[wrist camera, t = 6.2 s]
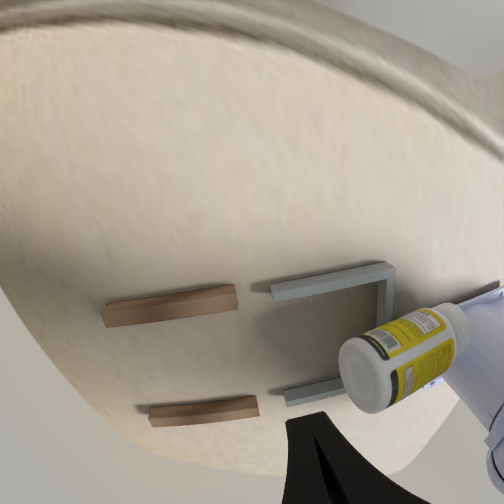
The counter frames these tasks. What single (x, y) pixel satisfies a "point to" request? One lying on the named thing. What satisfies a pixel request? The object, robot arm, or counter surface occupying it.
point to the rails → (175, 309)
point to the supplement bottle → (402, 355)
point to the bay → (327, 284)
